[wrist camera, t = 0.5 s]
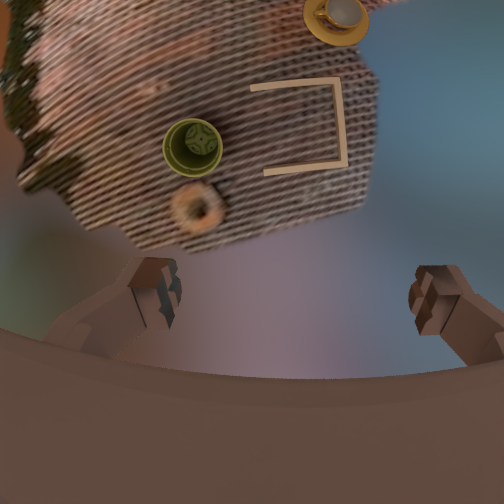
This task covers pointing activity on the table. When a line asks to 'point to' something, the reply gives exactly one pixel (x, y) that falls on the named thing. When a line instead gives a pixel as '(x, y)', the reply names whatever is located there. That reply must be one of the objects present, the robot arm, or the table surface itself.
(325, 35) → the cup
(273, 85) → the frame
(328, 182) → the table surface
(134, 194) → the table surface
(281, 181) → the table surface
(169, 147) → the plant pot
